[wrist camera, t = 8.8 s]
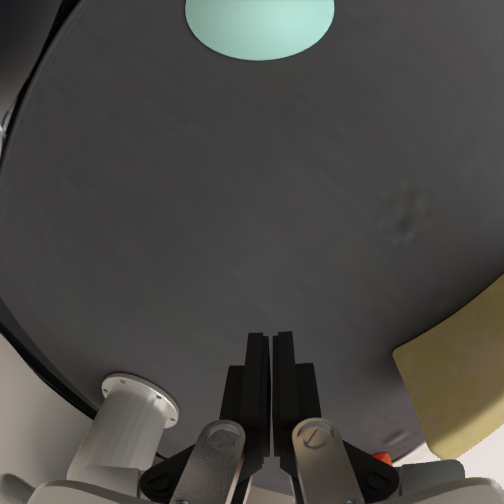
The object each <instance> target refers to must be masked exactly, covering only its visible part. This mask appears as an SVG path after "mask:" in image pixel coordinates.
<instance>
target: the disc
mask: <svg viewBox="0 0 504 504" xmlns="http://www.w3.org/2000/svg"><path fill="white" fill-rule="evenodd" d="M185 13H186V19H187V22H188V25H189V27H190V29H191V30H192V32H193V33H194V35H195V36H196V37H197V38H198V39H199V40H200V41H201V42H202V43H204V44H205V45H206V46H207V47H209V48H211V49H212V50H214V51H216V52H219V53H221V54H223V55H226V56H229V57H233V58H238V59H244V60H259V61H263V60H274V59H279V58H284V57H288V56H291V55H294V54H297V53H299V52H302V51H303V50H305V49H307V48H309V47H310V46H312V45H313V44H315V43H316V42H317V41H318V40H319V39H320V38H321V37H322V36H323V35H324V34H325V33H326V31H327V30H328V28H329V26H330V24H331V22H332V19H333V15H334V1H333V0H186V6H185Z"/></svg>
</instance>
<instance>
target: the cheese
mask: <svg viewBox="0 0 504 504" xmlns="http://www.w3.org/2000/svg"><path fill="white" fill-rule="evenodd" d="M392 354H393V358H394V360H395V363H396V365H397V367H398V370H399V372H400V375H401V377H402V379H403V382H404V384H405V387H406V389H407V392H408V394H409V397H410V399H411V402H412V405H413V407H414V410H415V412H416V415H417V418H418V420H419V423H420V426H421V429H422V431H423V434H424V437H425V440H426V443H427V446H428V448H429V450H430V451H431V452H432V453H433V454H434V455H436V456H437V457H438V458H440V459H441V460H447V459H456V458H457V457H459V456H461V455H462V454H464V453H465V452H466V451H468V450H469V449H471V448H472V447H474V446H475V445H476V444H478V443H479V442H481V441H482V440H483V439H485V438H486V437H487V436H489V435H490V434H491V433H492V432H494V431H495V430H496V429H498V428H499V427H500V426H501V425H502V424H504V273H503V274H502V275H501V276H500V277H499V278H498V279H497V280H496V281H494V282H493V283H492V284H491V285H490V286H489V287H487V288H486V289H485V290H484V291H483V292H482V293H480V294H479V295H478V296H477V297H476V298H474V299H473V300H472V301H471V302H469V303H468V304H467V305H465V306H464V307H463V308H461V309H460V310H459V311H457V312H456V313H455V314H453V315H452V316H450V317H449V318H447V319H446V320H444V321H443V322H441V323H440V324H438V325H437V326H435V327H433V328H432V329H430V330H428V331H427V332H425V333H423V334H422V335H420V336H418V337H416V338H415V339H413V340H411V341H409V342H407V343H405V344H403V345H401V346H400V347H398V348H396V349H395V350H394V351H393V353H392Z"/></svg>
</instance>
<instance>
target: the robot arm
mask: <svg viewBox="0 0 504 504" xmlns="http://www.w3.org/2000/svg"><path fill="white" fill-rule="evenodd" d="M102 392H103V395H104V397H105V401H104V403H103V404H102V406H101V408H100V410H99V412H98V413H97V415H96V417H95V419H94V421H93V423H92V425H91V427H90V428H89V430H88V432H87V434H86V436H85V438H84V440H83V442H82V444H81V446H80V448H79V450H78V452H77V453H76V456H75V458H74V459H73V461H72V464H71V466H70V468H69V470H68V473H67V480H52V481H48V482H45V483H43V484H41V485H40V486H39V487H38V488H37V489H36V488H35V487H33V486H31V485H30V484H29V483H27V482H25V481H24V480H23V479H21V478H20V477H18V476H16V475H14V474H11V473H2V474H0V504H246V501H247V497H248V494H249V490H250V486H251V483H252V479H253V474H254V473H256V472H257V471H258V470H260V469H261V468H262V464H264V457H269V456H270V421H271V374H270V355H269V338H268V336H263V333H249V334H248V342H247V351H246V359H245V366H229V369H228V374H227V380H226V385H225V390H224V396H223V401H222V407H221V412H220V418H219V420H217V421H213V422H211V423H209V424H208V425H206V426H205V427H204V428H203V429H202V431H201V432H200V435H199V437H198V439H197V442H196V444H194V445H192V446H190V447H189V448H187V449H185V450H183V451H182V452H180V453H178V454H176V455H174V456H172V457H170V458H168V459H167V460H165V461H163V462H161V463H159V464H157V465H155V466H153V467H151V465H152V462H153V459H154V456H155V453H156V450H157V447H158V444H159V441H160V438H161V436H162V433H163V430H164V428H169V427H172V426H174V425H175V424H176V423H177V421H178V418H179V409H178V406H177V404H176V403H175V402H174V400H173V399H172V398H171V397H170V396H169V395H168V394H167V393H166V392H164V391H163V390H162V389H160V388H159V387H157V386H156V385H154V384H152V383H151V382H149V381H147V380H144V379H142V378H140V377H137V376H134V375H130V374H125V373H115V374H111V375H108V376H107V377H106V378H105V380H104V382H103V383H102ZM272 419H273V441H274V457H280V468H281V469H283V470H284V471H285V472H287V473H288V474H289V475H290V480H291V485H292V490H293V495H294V499H295V504H504V490H503V489H502V487H501V486H500V485H499V484H498V483H497V482H496V481H495V480H493V479H490V478H482V477H472V478H465V470H464V467H463V465H462V464H461V463H460V462H459V461H457V460H455V459H447V460H441V461H434V462H426V463H417V464H405V465H402V466H401V467H392V466H391V465H389V464H387V463H385V462H383V461H381V460H379V459H377V458H375V457H373V456H371V455H369V454H367V453H365V452H363V451H362V450H360V449H358V448H356V447H354V446H352V445H351V444H349V443H347V442H345V441H343V440H342V439H341V436H340V434H339V431H338V429H337V427H336V426H335V425H334V424H333V423H332V422H331V421H329V420H326V419H323V418H321V410H320V404H319V397H318V390H317V384H316V377H315V371H314V365H313V363H303V364H295V357H294V346H293V336H292V331H289V332H278V336H273V392H272Z"/></svg>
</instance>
